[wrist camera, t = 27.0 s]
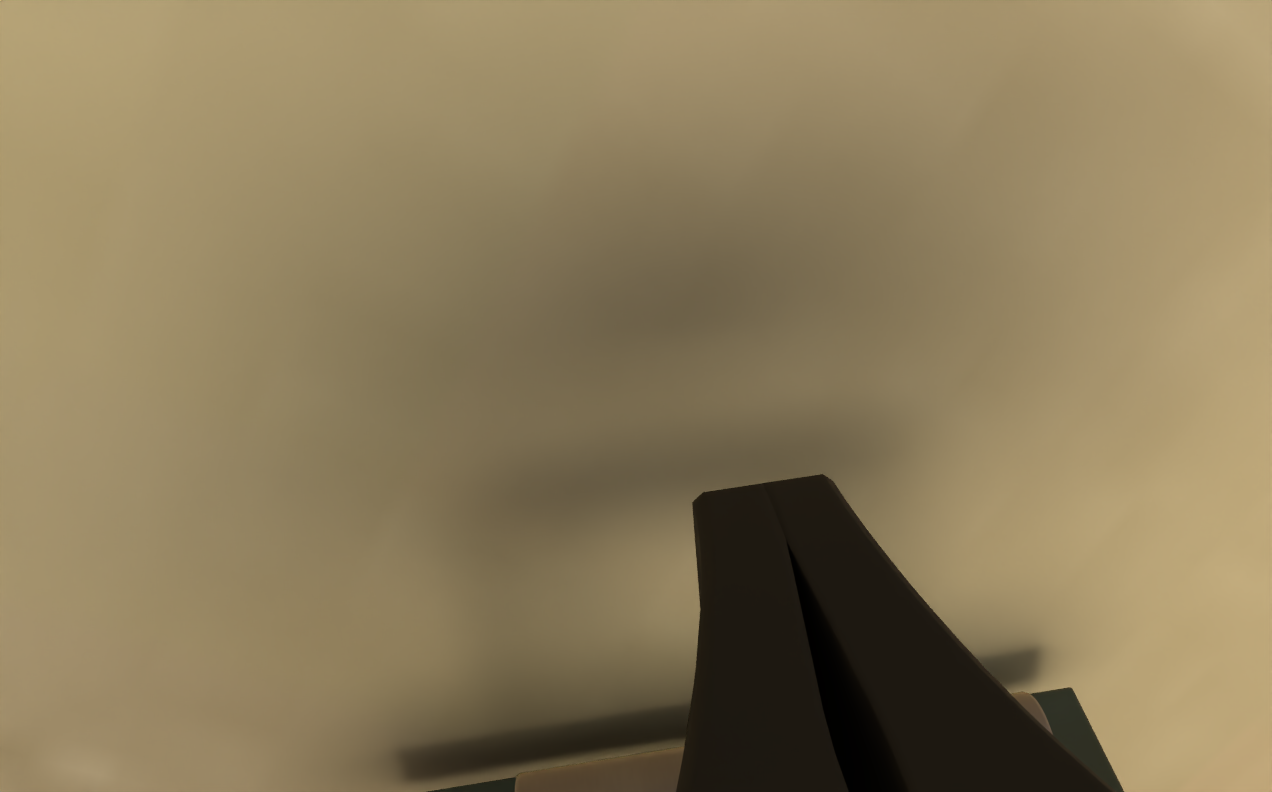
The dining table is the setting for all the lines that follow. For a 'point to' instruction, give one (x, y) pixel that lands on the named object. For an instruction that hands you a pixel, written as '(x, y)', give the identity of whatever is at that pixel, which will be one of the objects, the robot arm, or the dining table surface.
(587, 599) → the dining table surface
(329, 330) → the dining table surface
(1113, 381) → the dining table surface
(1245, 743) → the dining table surface
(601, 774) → the drawer
